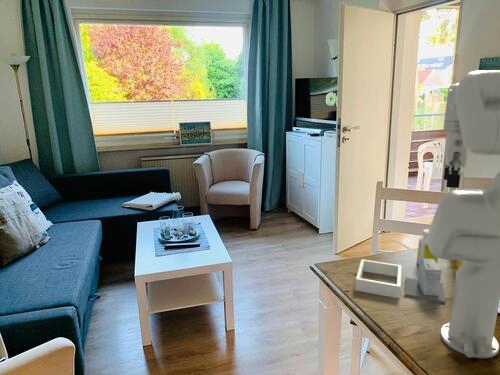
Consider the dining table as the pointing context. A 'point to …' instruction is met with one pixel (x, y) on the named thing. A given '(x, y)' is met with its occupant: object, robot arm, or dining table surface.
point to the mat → (415, 291)
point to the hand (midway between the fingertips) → (450, 183)
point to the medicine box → (429, 277)
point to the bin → (377, 286)
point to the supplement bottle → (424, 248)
